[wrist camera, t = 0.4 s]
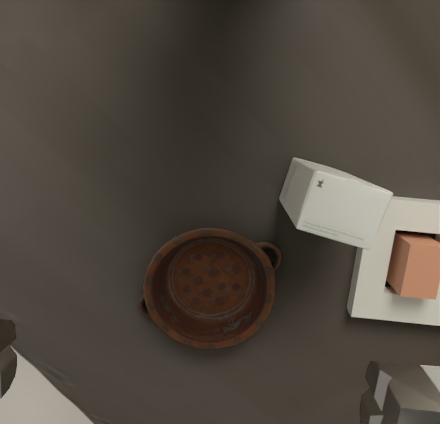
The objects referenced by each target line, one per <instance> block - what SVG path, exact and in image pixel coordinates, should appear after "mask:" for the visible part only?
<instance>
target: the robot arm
mask: <svg viewBox="0 0 440 424" xmlns="http://www.w3.org/2000/svg"><path fill="white" fill-rule="evenodd" d="M15 339H16V329H15V324H14V323H13V322H12V321H11V320H8V319H0V398H2V397H3V395H4V394H5V393H6V392H7V390H8V389H9V388H10V386H11V383H12V381H13V379H14V377H15V373H16V367H17V355H16V354H15V352H14V351H13V349H12V348H11V347H10V345H11V344H12V342H13V341H14V340H15ZM365 378H366V380H367V383H368V385H369V387H370V388H369V389H368V390H367V391H366V392H364V393H363V394H362V396H361V402H360V424H440V367H439V366H427V365H414V364H402V363H390V362H379V361H370V363H369V365H368V367H367V371H366V376H365Z"/></svg>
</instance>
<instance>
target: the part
mask: <svg viewBox="0 0 440 424" xmlns="http://www.w3.org/2000/svg"><path fill="white" fill-rule="evenodd" d="M386 280H387V282H388V283H389V284H390V285H391V286H392V287H393V288H394V290H395V291H396V292H397V293H398V294H399V295H400V296H404V297H414V298H424V299H434V300H436V296H437V292H438V287H439V283H440V243H439V242H437V241H436V240H434V239H432V238H431V237H429V236H427V235H416V234H406V233H395V236H394V241H393V246H392V251H391V256H390V262H389V267H388V272H387V277H386Z"/></svg>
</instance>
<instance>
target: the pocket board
mask: <svg viewBox="0 0 440 424" xmlns="http://www.w3.org/2000/svg"><path fill="white" fill-rule="evenodd" d="M396 230H402V231H413V232H424V233H434V234H436V236H435V240H436V241H437V242H439V243H440V201H439V200H428V199H417V198H406V197H395V196H392V198H391V201H390V203H389V205H388V208H387V210H386V213H385V215H384V218H383V220H382V223H381V225H380V227H379V230H378V232H377V235H376V237H375V239H374V242H373V244H372V246H371V249H370V250H367V249H363V248H360V247H357V251H356V257H355V262H354V268H353V274H352V280H351V286H350V292H349V297H348V303H347V310H348V312H349V314H350V316H351V317H359V318H368V319H378V320H388V321H397V322H407V323H417V324H426V325H436V326H440V283H439V287H438V292H437V296H436V300H434V299H424V298H414V297H404V296H400V295H399V294H398V293H397V292H396V291H395V290H394V288H393V287H387V286H385V282H386V277H387V272H388V267H389V262H390V256H391V251H392V246H393V241H394V236H395V231H396Z"/></svg>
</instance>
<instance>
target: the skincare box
mask: <svg viewBox="0 0 440 424" xmlns="http://www.w3.org/2000/svg"><path fill="white" fill-rule="evenodd" d="M392 196H393V193H392V192H391V191H389V190H386V189H384V188H382V187H379V186H377V185H374V184H372V183H369V182H367V181H365V180H362V179H360V178H357V177H355V176H353V175H350V174H348V173H346V172H343V171H340V170H337V169H334V168H331V167H328V166H325V165H321V164H318V163H314V162H311V161H307V160H303V159H299V158H295V157H294V158H293V159H292V161H291V164H290V167H289V170H288V173H287V176H286V179H285V182H284V185H283V188H282V191H281V194H280V197H279V201H280V202H281V204H282V205H283V207H284V209H285V210H286V212H287V214H288V215H289V217H290V219H291V220H292V222H293V223H294V225H295V227H296V229H299V230H302V231H306V232H309V233H312V234H315V235H319V236H322V237H326V238H329V239H332V240H335V241H339V242H342V243H346V244H349V245H353V246H356V247H360V248H363V249H367V250H370V249H371V246H372V244H373V242H374V239H375V237H376V235H377V232H378V230H379V227H380V225H381V223H382V220H383V218H384V215H385V213H386V210H387V208H388V205H389V203H390V201H391V198H392Z"/></svg>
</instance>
